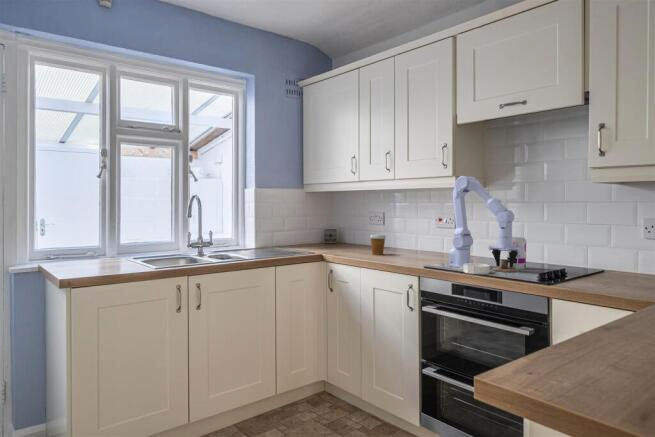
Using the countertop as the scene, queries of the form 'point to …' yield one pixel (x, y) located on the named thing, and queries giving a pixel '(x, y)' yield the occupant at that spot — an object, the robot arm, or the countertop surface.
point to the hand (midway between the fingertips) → (504, 266)
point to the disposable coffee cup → (377, 243)
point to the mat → (503, 272)
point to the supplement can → (521, 256)
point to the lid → (504, 267)
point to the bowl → (476, 268)
